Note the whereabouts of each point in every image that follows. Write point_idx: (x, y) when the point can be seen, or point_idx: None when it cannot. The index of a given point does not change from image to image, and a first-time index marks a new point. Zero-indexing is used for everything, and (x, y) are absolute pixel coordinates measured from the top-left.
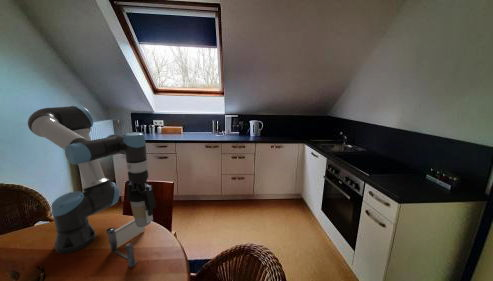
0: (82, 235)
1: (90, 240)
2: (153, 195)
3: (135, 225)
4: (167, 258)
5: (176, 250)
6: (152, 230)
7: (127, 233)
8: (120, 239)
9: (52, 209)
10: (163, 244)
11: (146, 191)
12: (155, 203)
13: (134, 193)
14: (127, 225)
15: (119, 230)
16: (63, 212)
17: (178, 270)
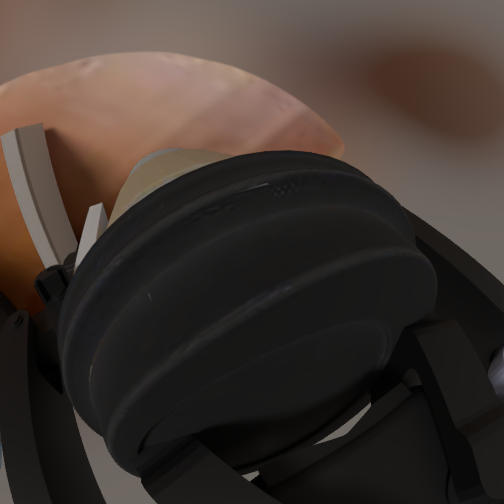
0: (1, 338)
1: (2, 303)
2: (476, 266)
3: (36, 175)
4: (268, 136)
5: (264, 94)
6: (66, 92)
7: (55, 214)
8: (68, 242)
9: None
10: (193, 102)
11: (486, 371)
12: (411, 213)
13: (254, 454)
14: (44, 227)
15: (60, 264)
16: (1, 448)
17: (327, 148)
